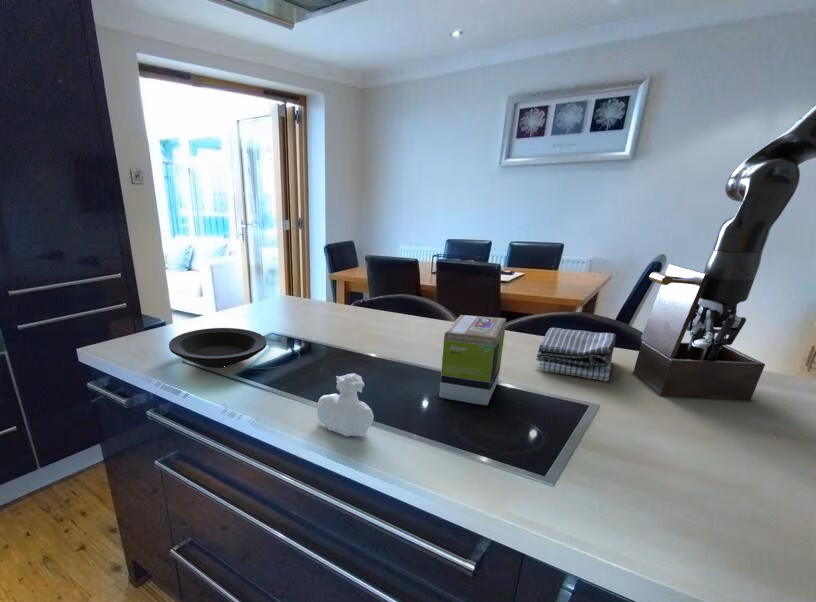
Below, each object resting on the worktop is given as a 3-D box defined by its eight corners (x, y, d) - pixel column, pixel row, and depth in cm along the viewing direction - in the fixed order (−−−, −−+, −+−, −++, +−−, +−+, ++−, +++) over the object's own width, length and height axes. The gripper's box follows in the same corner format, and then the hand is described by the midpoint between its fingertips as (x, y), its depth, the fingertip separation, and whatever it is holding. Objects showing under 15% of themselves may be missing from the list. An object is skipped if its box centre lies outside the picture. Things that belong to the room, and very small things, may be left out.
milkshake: (671, 376, 96) (686, 332, 92) (699, 377, 95) (715, 333, 91) (683, 384, 92) (699, 338, 88) (713, 385, 91) (730, 339, 87)
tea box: (453, 374, 104) (460, 312, 98) (499, 381, 100) (509, 317, 94) (437, 398, 92) (444, 330, 87) (488, 407, 88) (498, 336, 82)
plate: (154, 360, 120) (151, 340, 117) (228, 340, 134) (226, 322, 132) (208, 389, 100) (205, 366, 98) (287, 362, 115) (286, 342, 113)
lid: (673, 264, 92) (644, 262, 92) (710, 274, 80) (676, 271, 81) (644, 339, 98) (617, 336, 99) (674, 358, 87) (644, 354, 88)
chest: (711, 377, 98) (723, 343, 95) (750, 400, 87) (765, 364, 84) (632, 373, 102) (641, 341, 98) (660, 395, 90) (671, 360, 87)
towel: (612, 359, 110) (620, 329, 107) (607, 384, 96) (616, 350, 93) (544, 349, 118) (550, 321, 115) (531, 371, 105) (537, 339, 102)
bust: (373, 447, 79) (395, 389, 81) (356, 438, 73) (379, 376, 75) (321, 428, 86) (341, 375, 88) (301, 418, 80) (323, 362, 82)
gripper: (779, 281, 78) (744, 371, 84) (727, 269, 90) (700, 347, 97) (729, 281, 79) (699, 369, 86) (685, 268, 92) (661, 346, 99)
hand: (700, 357), depth 92 cm, fingers closed on milkshake, 4 cm apart
